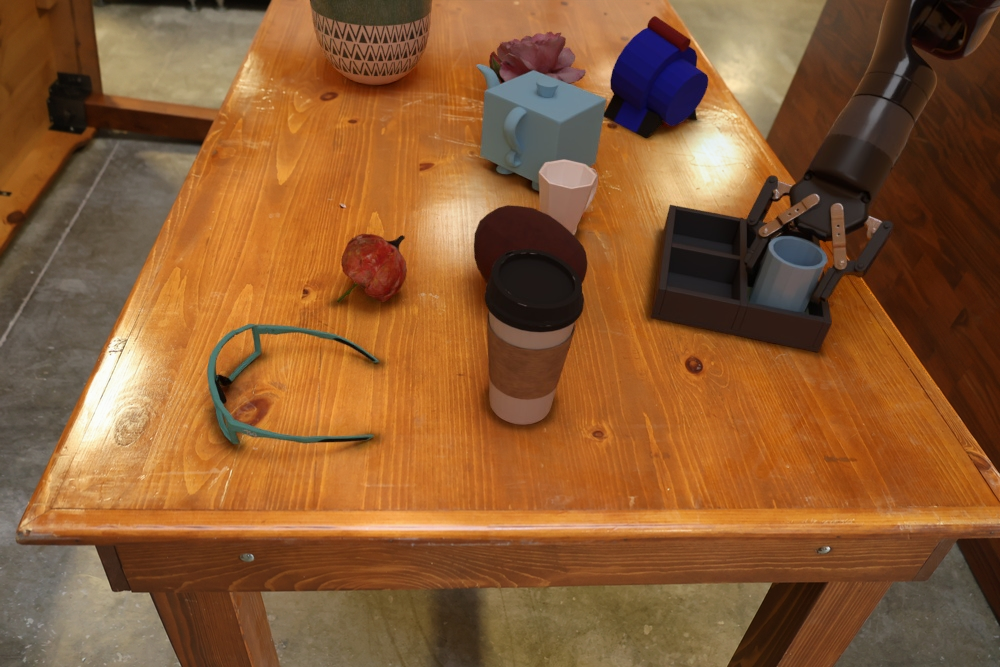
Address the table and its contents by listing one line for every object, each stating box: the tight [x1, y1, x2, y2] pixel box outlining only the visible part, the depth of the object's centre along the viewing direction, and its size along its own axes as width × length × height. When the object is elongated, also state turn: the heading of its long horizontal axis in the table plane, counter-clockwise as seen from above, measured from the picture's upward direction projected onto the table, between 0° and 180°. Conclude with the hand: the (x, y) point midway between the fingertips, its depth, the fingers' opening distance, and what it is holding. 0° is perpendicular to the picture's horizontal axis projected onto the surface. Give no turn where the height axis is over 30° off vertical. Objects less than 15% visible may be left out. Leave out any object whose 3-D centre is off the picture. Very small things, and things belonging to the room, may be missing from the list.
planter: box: [309, 0, 433, 86], centre depth 120 cm, size 20×20×21 cm
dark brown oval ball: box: [473, 204, 588, 284], centre depth 82 cm, size 11×13×10 cm
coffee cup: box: [484, 249, 585, 426], centre depth 68 cm, size 8×8×15 cm
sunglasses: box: [206, 323, 380, 445], centre depth 70 cm, size 14×15×5 cm
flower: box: [488, 31, 587, 84], centre depth 125 cm, size 15×15×10 cm
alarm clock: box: [604, 15, 709, 139], centre depth 118 cm, size 12×12×15 cm
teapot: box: [476, 63, 607, 192], centre depth 105 cm, size 18×16×13 cm
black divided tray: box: [650, 204, 833, 353], centre depth 89 cm, size 18×18×4 cm
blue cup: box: [748, 236, 828, 314], centre depth 83 cm, size 6×6×8 cm
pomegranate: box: [336, 233, 408, 303], centre depth 82 cm, size 7×7×10 cm
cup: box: [538, 159, 599, 236], centre depth 95 cm, size 7×10×8 cm
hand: (781, 286), depth 82 cm, fingers open, 7 cm apart
